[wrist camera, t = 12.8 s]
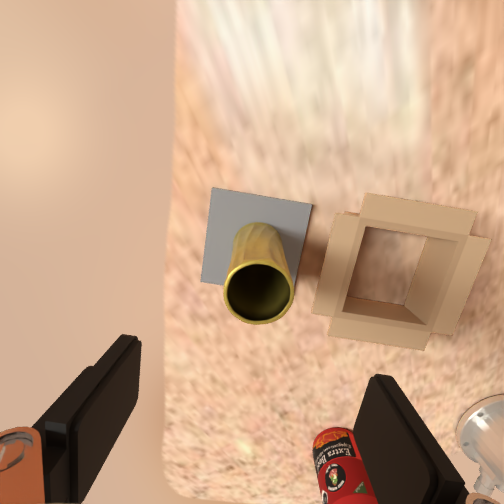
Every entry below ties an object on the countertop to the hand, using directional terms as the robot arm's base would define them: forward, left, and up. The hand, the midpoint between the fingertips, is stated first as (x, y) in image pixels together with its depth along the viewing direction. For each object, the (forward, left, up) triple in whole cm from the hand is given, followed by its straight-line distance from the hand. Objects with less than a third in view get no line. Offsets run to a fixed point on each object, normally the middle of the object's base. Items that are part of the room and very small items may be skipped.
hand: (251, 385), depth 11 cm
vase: (0, 0, -24) cm, 24 cm away
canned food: (-30, -18, -24) cm, 42 cm away
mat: (0, 0, -24) cm, 24 cm away
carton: (0, -16, -24) cm, 29 cm away
